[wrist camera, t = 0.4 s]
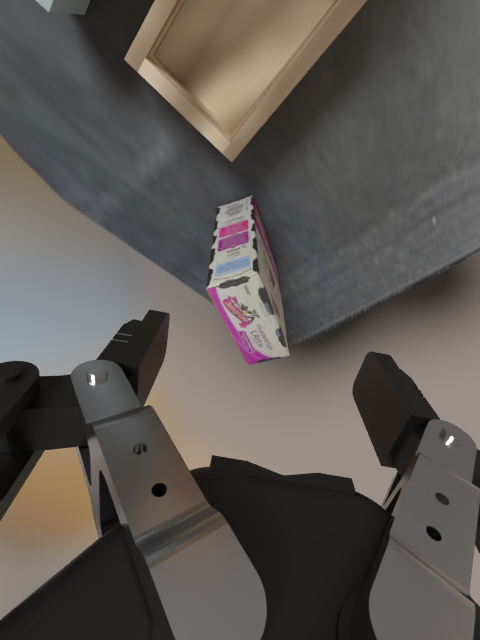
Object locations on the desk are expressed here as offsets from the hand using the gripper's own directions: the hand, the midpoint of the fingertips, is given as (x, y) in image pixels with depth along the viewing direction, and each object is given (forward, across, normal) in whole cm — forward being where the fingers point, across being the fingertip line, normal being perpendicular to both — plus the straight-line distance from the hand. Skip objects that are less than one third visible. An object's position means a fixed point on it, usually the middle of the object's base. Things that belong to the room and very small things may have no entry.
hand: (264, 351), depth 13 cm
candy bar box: (+31, +1, +3) cm, 32 cm away
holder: (+26, +5, -17) cm, 31 cm away
